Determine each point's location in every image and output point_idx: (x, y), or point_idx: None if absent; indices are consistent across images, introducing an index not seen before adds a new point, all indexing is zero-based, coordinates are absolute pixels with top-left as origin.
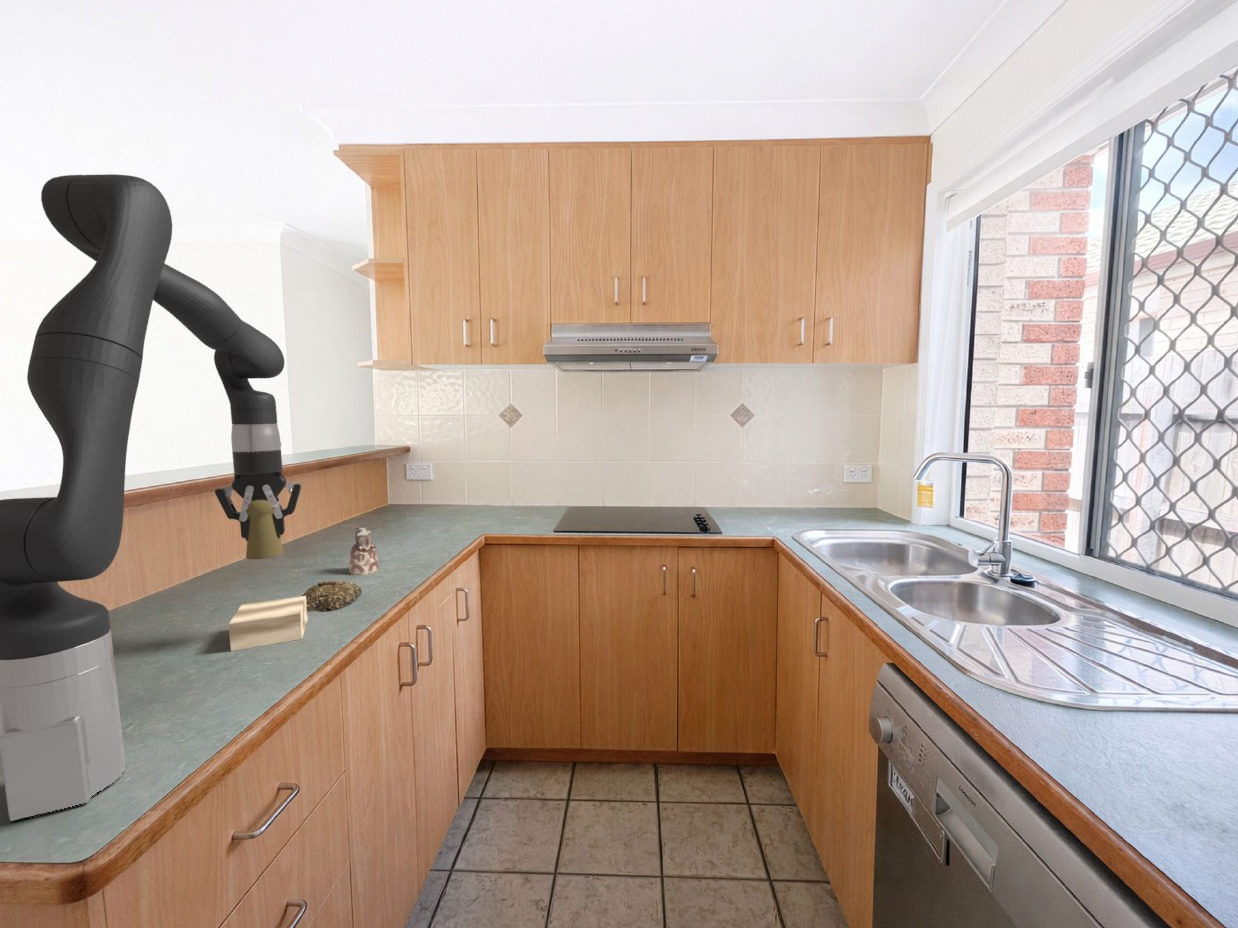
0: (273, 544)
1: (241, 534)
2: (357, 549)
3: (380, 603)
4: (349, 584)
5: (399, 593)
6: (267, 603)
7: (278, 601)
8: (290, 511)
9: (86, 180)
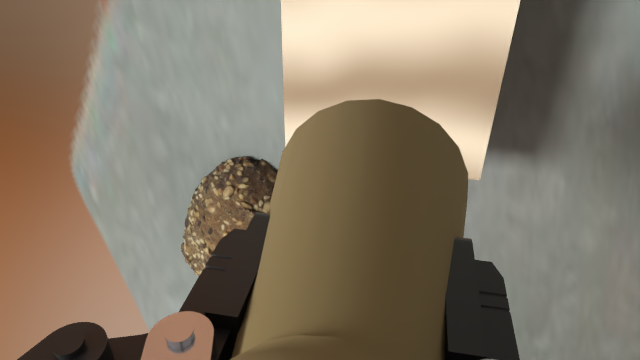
0: (301, 162)
1: (502, 285)
2: None
3: (124, 143)
4: (196, 252)
5: (90, 194)
6: None
7: None
8: (58, 340)
9: None
